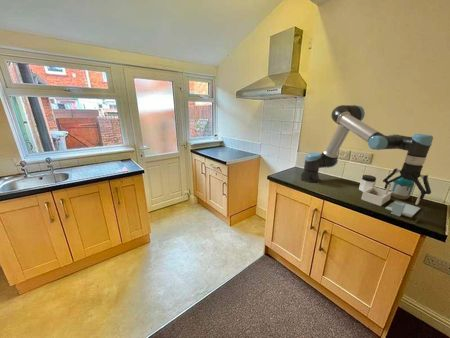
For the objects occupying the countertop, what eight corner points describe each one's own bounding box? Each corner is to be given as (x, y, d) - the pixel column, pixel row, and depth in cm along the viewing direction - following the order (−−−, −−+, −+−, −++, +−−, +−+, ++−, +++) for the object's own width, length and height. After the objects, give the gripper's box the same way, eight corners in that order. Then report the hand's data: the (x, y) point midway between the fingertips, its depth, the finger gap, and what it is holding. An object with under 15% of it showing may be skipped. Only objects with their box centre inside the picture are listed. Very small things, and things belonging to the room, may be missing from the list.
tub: (360, 200, 129) (363, 191, 127) (370, 194, 138) (372, 186, 136) (380, 207, 120) (382, 197, 118) (389, 200, 129) (392, 192, 127)
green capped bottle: (412, 203, 126) (421, 176, 120) (392, 200, 130) (401, 174, 124) (404, 196, 136) (412, 171, 130) (386, 194, 139) (393, 169, 133)
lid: (382, 211, 115) (385, 200, 112) (394, 202, 127) (398, 191, 124) (408, 221, 106) (412, 208, 103) (419, 210, 117) (423, 198, 115)
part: (370, 196, 133) (371, 192, 132) (370, 195, 135) (371, 190, 134) (376, 198, 130) (377, 193, 129) (376, 196, 133) (378, 192, 132)
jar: (369, 194, 137) (373, 179, 134) (356, 190, 144) (360, 176, 140) (374, 192, 142) (378, 177, 138) (362, 188, 149) (365, 174, 145)
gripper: (382, 158, 109) (372, 192, 116) (446, 171, 90) (429, 210, 97) (387, 157, 113) (377, 189, 120) (449, 168, 94) (433, 206, 101)
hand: (400, 198), depth 109 cm, fingers open, 13 cm apart
